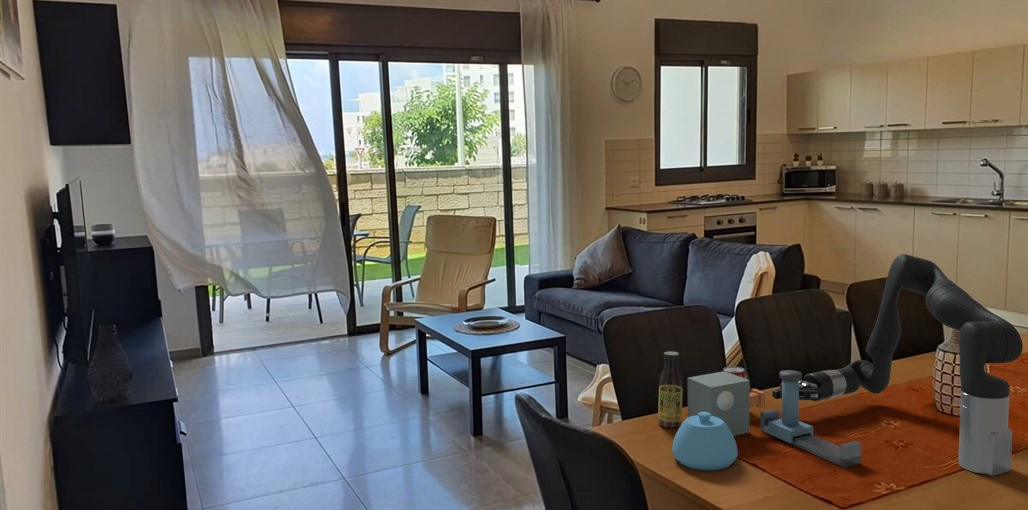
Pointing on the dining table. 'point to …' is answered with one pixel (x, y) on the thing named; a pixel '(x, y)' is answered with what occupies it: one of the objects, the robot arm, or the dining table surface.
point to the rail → (818, 444)
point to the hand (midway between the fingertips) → (774, 394)
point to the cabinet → (721, 399)
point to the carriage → (789, 410)
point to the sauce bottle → (670, 392)
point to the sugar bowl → (704, 443)
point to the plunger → (757, 398)
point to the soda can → (736, 371)
